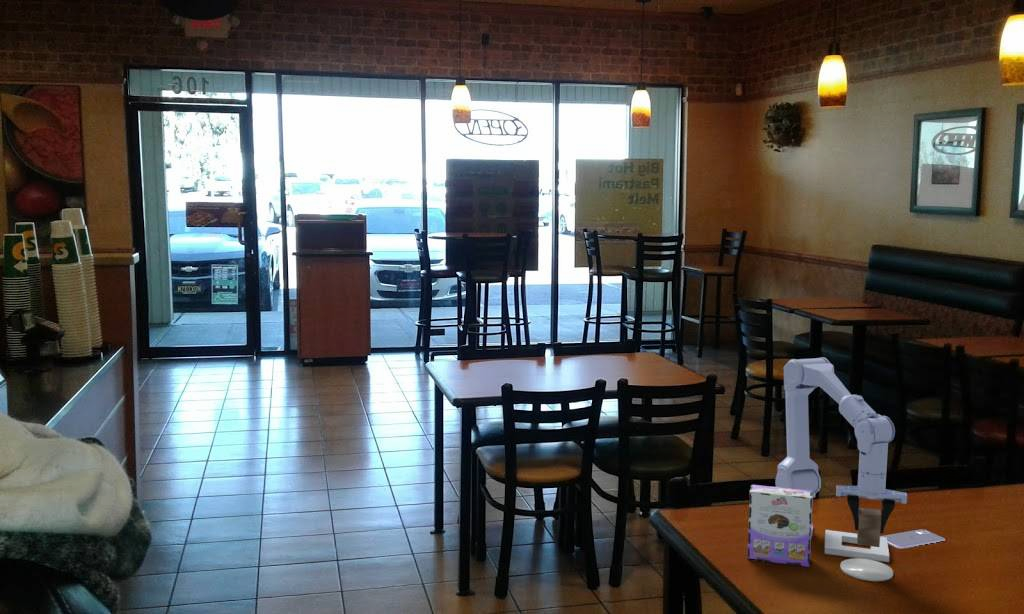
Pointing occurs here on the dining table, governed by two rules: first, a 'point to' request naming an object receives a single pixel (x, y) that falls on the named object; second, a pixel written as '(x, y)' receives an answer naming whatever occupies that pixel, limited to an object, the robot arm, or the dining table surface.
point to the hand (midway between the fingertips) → (868, 530)
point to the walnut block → (869, 527)
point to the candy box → (780, 525)
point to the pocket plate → (835, 547)
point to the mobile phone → (912, 538)
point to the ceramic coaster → (866, 569)
